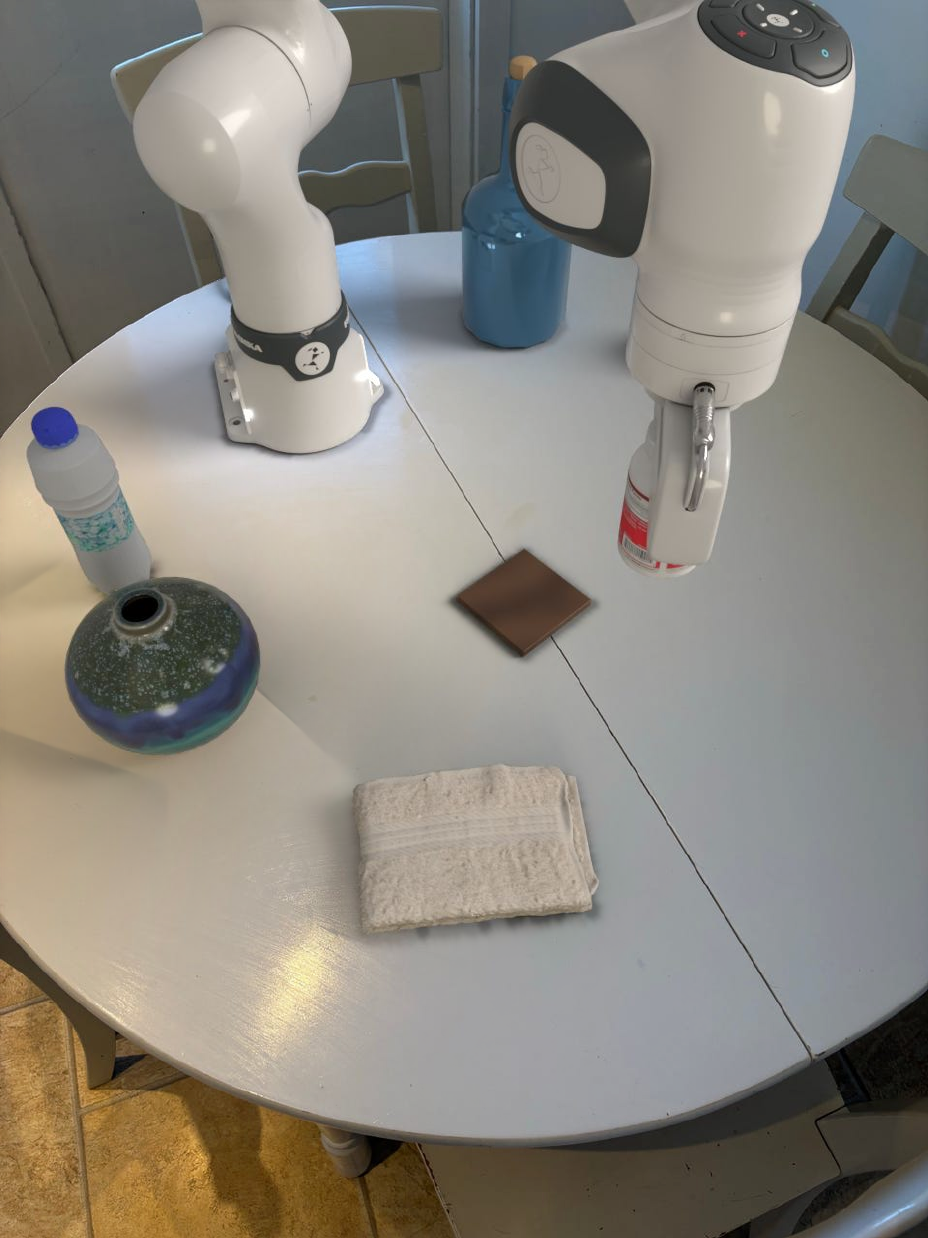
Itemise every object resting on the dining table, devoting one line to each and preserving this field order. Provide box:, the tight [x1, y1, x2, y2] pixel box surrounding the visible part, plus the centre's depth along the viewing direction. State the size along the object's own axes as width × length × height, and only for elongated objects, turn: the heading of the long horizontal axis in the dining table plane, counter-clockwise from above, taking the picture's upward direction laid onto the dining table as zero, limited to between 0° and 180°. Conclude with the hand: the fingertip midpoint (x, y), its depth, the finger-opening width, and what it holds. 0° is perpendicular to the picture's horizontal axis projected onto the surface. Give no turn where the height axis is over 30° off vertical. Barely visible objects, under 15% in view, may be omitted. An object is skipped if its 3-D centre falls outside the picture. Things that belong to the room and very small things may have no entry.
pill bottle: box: [616, 417, 697, 580], centre depth 61 cm, size 6×6×11 cm
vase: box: [63, 576, 262, 756], centre depth 73 cm, size 15×15×13 cm
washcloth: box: [352, 763, 601, 936], centre depth 68 cm, size 12×18×3 cm, turn 97°
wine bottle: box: [460, 55, 573, 348], centre depth 102 cm, size 14×13×30 cm
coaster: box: [456, 548, 592, 657], centre depth 84 cm, size 9×9×1 cm
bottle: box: [25, 406, 153, 596], centre depth 79 cm, size 7×7×20 cm
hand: (666, 509), depth 62 cm, fingers closed on pill bottle, 6 cm apart
